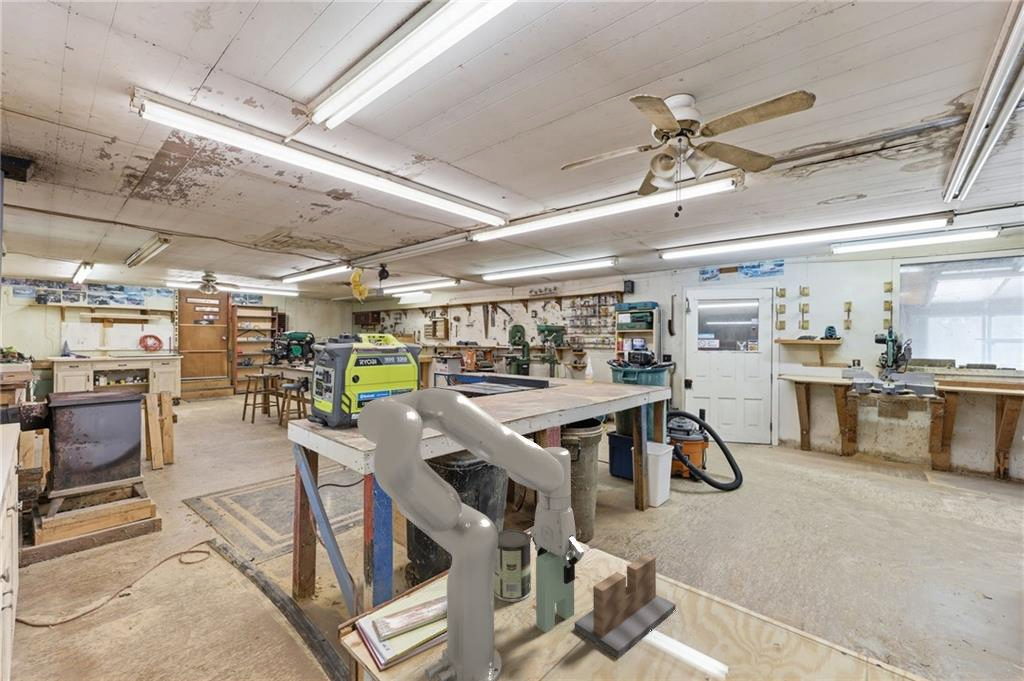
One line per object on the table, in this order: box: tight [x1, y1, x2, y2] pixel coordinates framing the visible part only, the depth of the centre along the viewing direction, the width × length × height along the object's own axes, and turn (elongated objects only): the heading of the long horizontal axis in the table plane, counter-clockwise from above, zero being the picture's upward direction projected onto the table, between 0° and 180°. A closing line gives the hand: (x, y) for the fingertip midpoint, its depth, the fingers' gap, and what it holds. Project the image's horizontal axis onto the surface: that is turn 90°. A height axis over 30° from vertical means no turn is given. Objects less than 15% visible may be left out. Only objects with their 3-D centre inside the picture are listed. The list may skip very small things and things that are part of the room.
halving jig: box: [574, 553, 677, 659], centre depth 100 cm, size 24×12×12 cm, turn 131°
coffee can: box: [494, 529, 532, 603], centre depth 111 cm, size 10×10×14 cm
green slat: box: [535, 551, 575, 633], centre depth 99 cm, size 3×10×16 cm, turn 131°
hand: (555, 573), depth 99 cm, fingers open, 8 cm apart
